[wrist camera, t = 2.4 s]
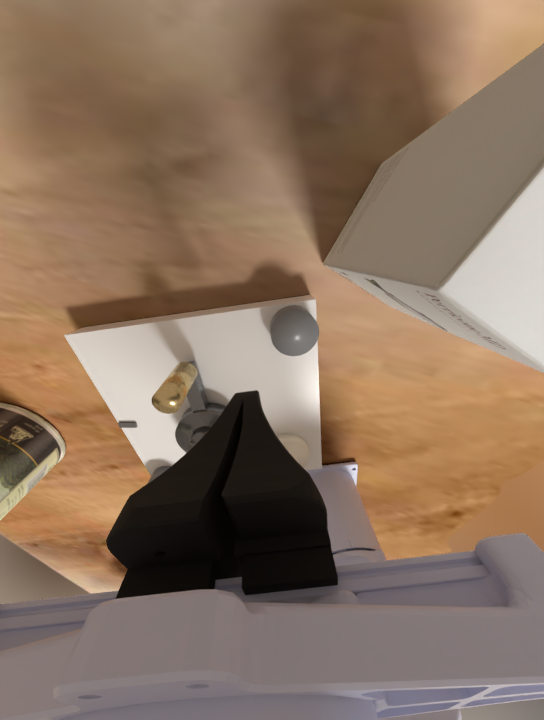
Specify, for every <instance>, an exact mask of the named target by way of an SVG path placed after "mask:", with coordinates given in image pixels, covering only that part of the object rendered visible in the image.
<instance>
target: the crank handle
mask: <svg viewBox="0 0 544 720" xmlns="http://www.w3.org/2000/svg"><path fill="white" fill-rule="evenodd" d="M186 396H187V399H188V401H189V404H190V406H191V407H190V408H188V409H187V410H186V411H185V412H184V414H183V415H182V417H181V419H180V421H179V423H178V426H177V428H176V431H175V438H176V441H177V443H178V445H179V446H180V447H181V448H182V449H183V450H184V451H185V452H186V453H187V452H188V451H189V450H190V449H191V448H192V447H194V446H195V445H196V444H197V443H198V441H199V440H200V439H201V438H202V437H203V436H204V435H205V434H206V433H207V432H208V430H209V429H210V428H211V427H212V425H213V424H214V423H215V422H216V420H217V419H218V418H219V416H220V415H221V413H222V412H223V411H224V409H225V408H226V406H224V405H221V404H218V403H209V402H208V400H207V397H206V394H205V391H204V388H203V385H202V382H201V379H200V376H199V373H198V370H197V367H196V364H195V361H191V362H180V363H178V364H177V365H176V367H175V368H174V369H173V370H172V372H171V373H170V374H169V376H168V377H167V378H166V380H165V381H164V382H163V383H162V385H161V386H160V387H159V389H158V390H157V391H156V393H155V394H154V395H153V397H152V405H153V406H154V408H155V409H157V410H158V411H160V412H162V413H166V414H172V413H175V412H177V411H178V410H179V409H180V407H181V405H182V403H183V401H184V400H185V398H186Z"/></svg>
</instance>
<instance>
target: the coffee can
mask: <svg viewBox="0 0 544 720" xmlns="http://www.w3.org/2000/svg"><path fill="white" fill-rule="evenodd" d="M65 451H66V446H65V442H64V440H63V438H62V436H61V435H60V433H59V432H58V431H57V430H56V429H55V428H54V427H53V426H52V425H51V424H50V423H49V422H47V421H46V420H45V419H43V418H42V417H40V416H39V415H37V414H35V413H33V412H31V411H29V410H26V409H24V408H21V407H18V406H15V405H12V404H7V403H2V402H0V520H1V519H2V518H3V517H4V516H5V515H6V514H7V513H8V512H9V511H10V510H11V509H12V508H13V507H14V506H15V505H16V504H17V503H18V502H19V501H20V500H21V499H22V498H23V497H24V496H25V495H26V494H27V493H28V492H29V491H30V490H31V489H32V488H33V487H34V486H35V485H36V484H37V483H38V482H39V481H40V480H41V479H42V478H43V477H44V476H45V475H46V474H47V473H48V472H49V471H50V470H51V469H52V468H53V467H54V466H55V465H56V464H57V463H58V462H59V461H61V460H62V458H63V457H64V455H65Z"/></svg>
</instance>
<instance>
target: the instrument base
mask: <svg viewBox="0 0 544 720" xmlns="http://www.w3.org/2000/svg"><path fill="white" fill-rule="evenodd" d="M64 336H65V338H66V339H67V341H68V343H69V344H70V346H71V347H72V349H73V351H74V352H75V354H76V355H77V357H78V359H79V360H80V362H81V364H82V365H83V367H84V368H85V370H86V372H87V373H88V375H89V376H90V378H91V380H92V381H93V383H94V385H95V386H96V388H97V389H98V391H99V393H100V394H101V396H102V397H103V399H104V401H105V402H106V404H107V406H108V407H109V409H110V410H111V412H112V414H113V415H114V417H115V418H116V420H117V422H118V424H119V427H120V428H122V430H123V431H124V433H125V435H126V436H127V438H128V439H129V441H130V443H131V444H132V446H133V448H134V449H135V451H136V452H137V454H138V456H139V457H140V459H141V460H142V462H143V464H144V465H145V467H146V469H147V470H148V472H149V473H150V475H151V478H150V480H149V482H148V483H150V482H151V481H153V480H154V479H155V478H157V477H158V476H159V475H161V474H162V473H163V472H165V471H166V470H167V469H168V468H170V467H171V466H172V465H173V464H175V463H176V462H177V461H178V460H179V459H180V458H182V457H183V456H184V455H185V454H186V452H185V451H184V450H183V449H182V448H181V447H180V446H179V445H178V443H177V441H176V438H175V431H176V428H177V426H178V423H179V421H180V419H181V417H182V415H183V414H184V412H185V411H186V410H187V409H188V408H190V407H191V406H190V404H189V401H188V399H187V396H186V398H185V400H184V401H183V403H182V405H181V407H180V409H179V410H178V411H177V412H175V413H172V414H166V413H162V412H160V411H158V410H157V409H155V408H154V406H153V405H152V397H153V395H154V394H155V393H156V391H157V390H158V389H159V387H160V386H161V385H162V383H163V382H164V381H165V380H166V378H167V377H168V376H169V374H170V373H171V372H172V370H173V369H174V368H175V367H176V365H177V364H178V363H180V362H191V361H195V364H196V367H197V370H198V373H199V376H200V379H201V382H202V385H203V388H204V391H205V394H206V397H207V400H208V402H209V403H218V404H221V405H224V406H227V405H228V403H229V402H230V400H231V399H232V397H233V396H234V394H235V393H239V392H247V391H254V390H257V391H259V395H260V400H261V405H262V409H263V412H264V414H265V416H266V418H267V420H268V422H269V424H270V426H271V428H272V429H273V431H274V433H275V434H276V436H277V437H278V439H279V440H280V442H281V443H282V444H283V445H284V447H285V448H286V449H287V450H288V452H289V453H290V454H291V455H292V456H293V458H294V459H295V460H296V461H297V462H298V463H299V464H300V465H301V466H302V467H303V468H304V469H305V470H313V469H321V468H322V453H321V426H320V399H319V372H318V345H317V340H318V336H319V328H318V324H317V318H316V299H315V298H314V297H313V296H311V295H305V296H298V297H291V298H284V299H277V300H270V301H263V302H257V303H250V304H243V305H236V306H229V307H222V308H215V309H208V310H201V311H194V312H187V313H180V314H173V315H166V316H159V317H152V318H145V319H138V320H131V321H124V322H117V323H110V324H103V325H96V326H89V327H83V328H81V329H78V330H76V331H73V332H71V333H69V334H66V335H64Z"/></svg>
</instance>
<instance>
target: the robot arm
mask: <svg viewBox="0 0 544 720" xmlns="http://www.w3.org/2000/svg"><path fill="white" fill-rule="evenodd" d="M357 471H358V465H357V463H356V462H348V463H339V464H331V465H323V466H322V468H321V469H313V470H305V469H304V468H303V467H302V466H301V465H300V464H299V463H298V462H297V461H296V460H295V459H294V458H293V456H292V455H291V454H290V453H289V452H288V450H287V449H286V448H285V447H284V445H283V444H282V443H281V442H280V440H279V439H278V437H277V436H276V434H275V433H274V431H273V429H272V428H271V426H270V424H269V422H268V420H267V418H266V416H265V414H264V412H263V409H262V405H261V400H260V395H259V391H257V390H254V391H247V392H239V393H235V394H234V396H233V397H232V399H231V400H230V402H229V403H228V405H227V406H226V408H225V409H224V411H223V412H222V413H221V415H220V416H219V418H218V419H217V420H216V422H215V423H214V424H213V425H212V427H211V428H210V429H209V430H208V432H207V433H206V434H205V435H204V436H203V437H202V438H201V439H200V440H199V441H198V443H197V444H196V445H195V446H194V447H192V448H191V449H190V450H189V451H188V452H187V453H186V454H185V455H184V456H183V457H182V458H180V459H179V460H178V461H177V462H176V463H175V464H173V465H172V466H171V467H170V468H168V469H167V470H166V471H165V472H163V473H162V474H161V475H159V476H158V477H157V478H155V479H154V480H153V481H151V482H150V483H148V484H147V485H145V486H144V487H142V488H141V489H140V490H138V491H137V492H135V493H134V494H132V495H131V496H130V497H129V499H128V500H127V502H126V504H125V505H124V507H123V509H122V511H121V513H120V515H119V516H118V518H117V520H116V522H115V524H114V526H113V528H112V529H111V531H110V533H109V535H108V537H107V540H106V542H107V547H108V549H109V550H110V552H111V553H112V554H113V555H114V556H115V557H116V558H117V559H118V560H119V561H120V562H121V563H122V564H123V565H124V566H125V567H126V568H127V569H128V570H127V573H126V575H125V577H124V580H123V582H122V584H121V587H120V589H119V591H112V592H103V593H94V594H85V595H77V596H69V597H59V598H50V599H41V600H33V601H23V602H14V603H6V604H0V720H462V716H461V712H460V708H468V707H476V706H483V705H491V704H500V703H508V702H515V701H524V700H533V699H542V698H544V552H543V551H542V550H541V549H540V548H539V547H538V546H537V545H536V544H535V543H534V542H533V541H532V540H531V539H530V537H529V536H528V535H526V534H524V533H518V534H508V535H499V536H491V537H486V538H484V539H482V540H480V541H479V542H478V543H477V544H476V546H475V551H467V552H459V553H449V554H440V555H431V556H423V557H414V558H405V559H396V560H386V558H385V556H384V553H383V551H382V550H381V547H380V545H379V542H378V540H377V537H376V535H375V532H374V530H373V527H372V525H371V522H370V520H369V517H368V515H367V512H366V510H365V508H364V505H363V503H362V500H361V498H360V495H359V493H358V490H357V488H356V483H357Z"/></svg>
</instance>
